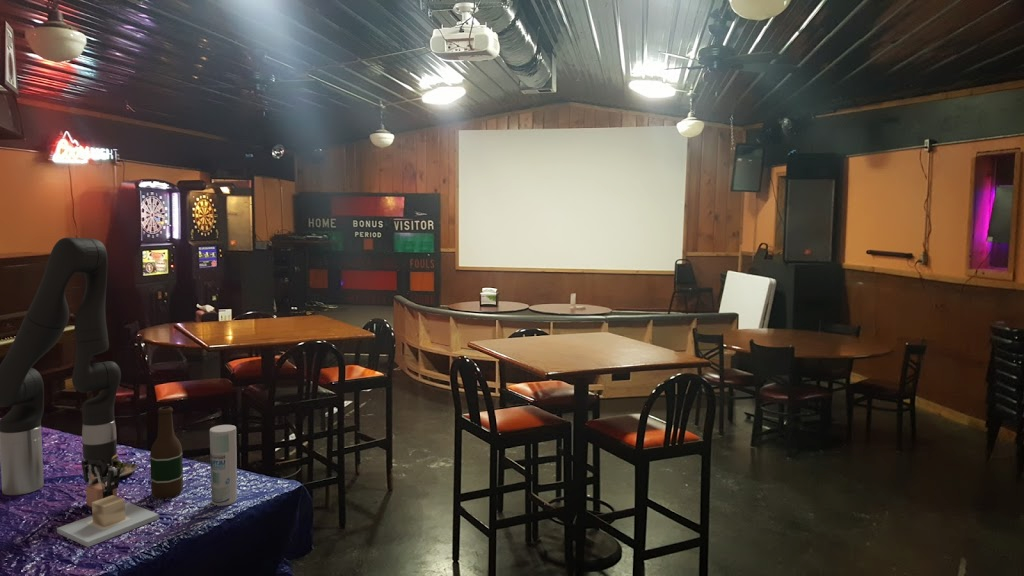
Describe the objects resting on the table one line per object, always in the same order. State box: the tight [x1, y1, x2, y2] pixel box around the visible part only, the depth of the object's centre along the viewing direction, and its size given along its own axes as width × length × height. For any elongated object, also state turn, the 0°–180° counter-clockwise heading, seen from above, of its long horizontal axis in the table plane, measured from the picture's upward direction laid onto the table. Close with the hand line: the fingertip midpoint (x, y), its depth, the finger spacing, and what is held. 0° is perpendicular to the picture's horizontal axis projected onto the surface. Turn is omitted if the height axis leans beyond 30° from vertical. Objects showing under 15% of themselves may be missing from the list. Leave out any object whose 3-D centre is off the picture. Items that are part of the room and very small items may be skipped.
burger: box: [103, 454, 138, 479], centre depth 192 cm, size 12×12×8 cm
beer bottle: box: [149, 406, 184, 500], centre depth 179 cm, size 8×8×24 cm
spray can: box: [209, 424, 238, 507], centre depth 175 cm, size 6×6×20 cm
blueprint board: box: [56, 502, 160, 548], centre depth 161 cm, size 13×17×1 cm
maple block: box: [91, 495, 126, 527], centre depth 161 cm, size 5×5×5 cm
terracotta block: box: [85, 482, 118, 508], centre depth 173 cm, size 5×5×5 cm
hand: (102, 501), depth 173 cm, fingers closed on terracotta block, 5 cm apart
